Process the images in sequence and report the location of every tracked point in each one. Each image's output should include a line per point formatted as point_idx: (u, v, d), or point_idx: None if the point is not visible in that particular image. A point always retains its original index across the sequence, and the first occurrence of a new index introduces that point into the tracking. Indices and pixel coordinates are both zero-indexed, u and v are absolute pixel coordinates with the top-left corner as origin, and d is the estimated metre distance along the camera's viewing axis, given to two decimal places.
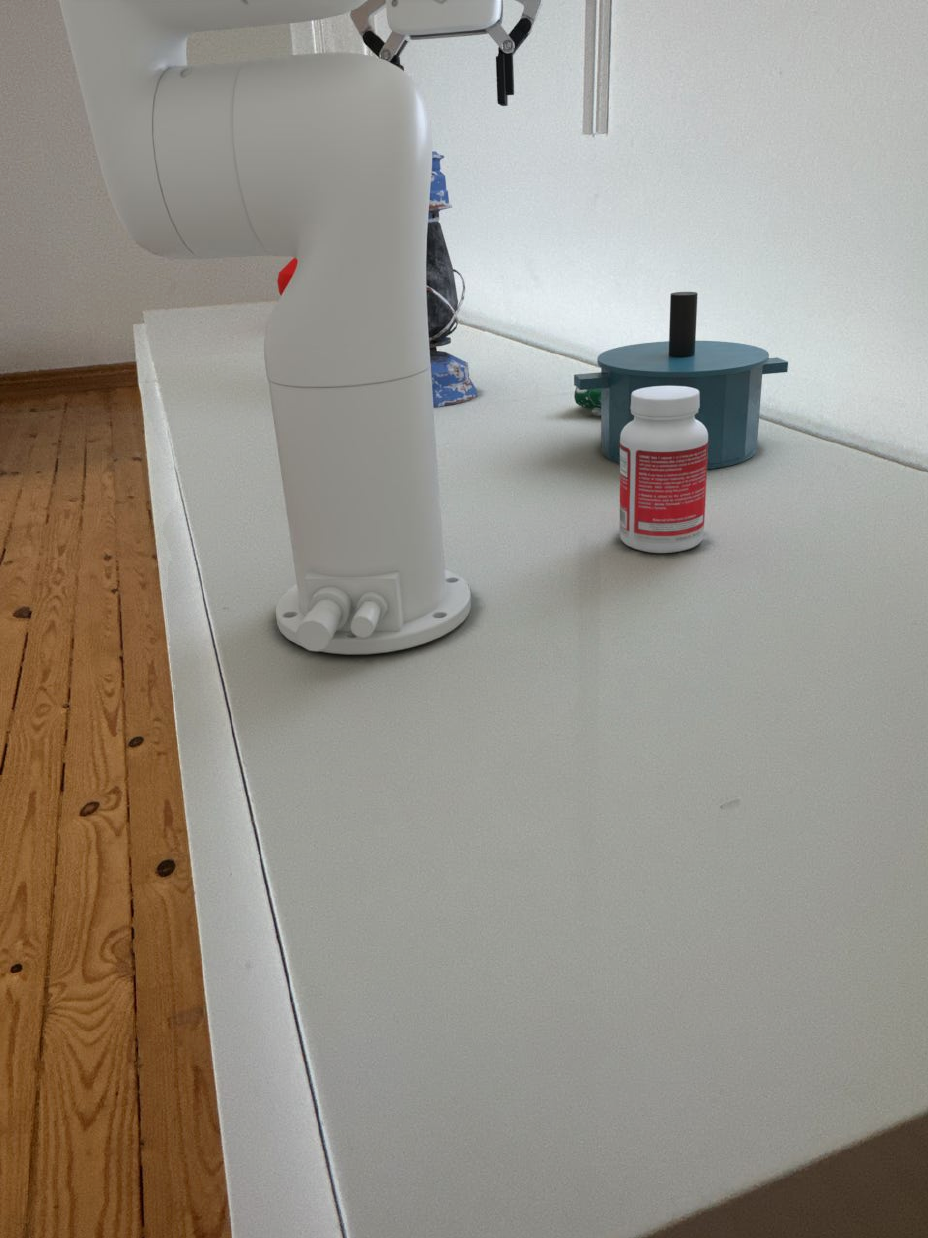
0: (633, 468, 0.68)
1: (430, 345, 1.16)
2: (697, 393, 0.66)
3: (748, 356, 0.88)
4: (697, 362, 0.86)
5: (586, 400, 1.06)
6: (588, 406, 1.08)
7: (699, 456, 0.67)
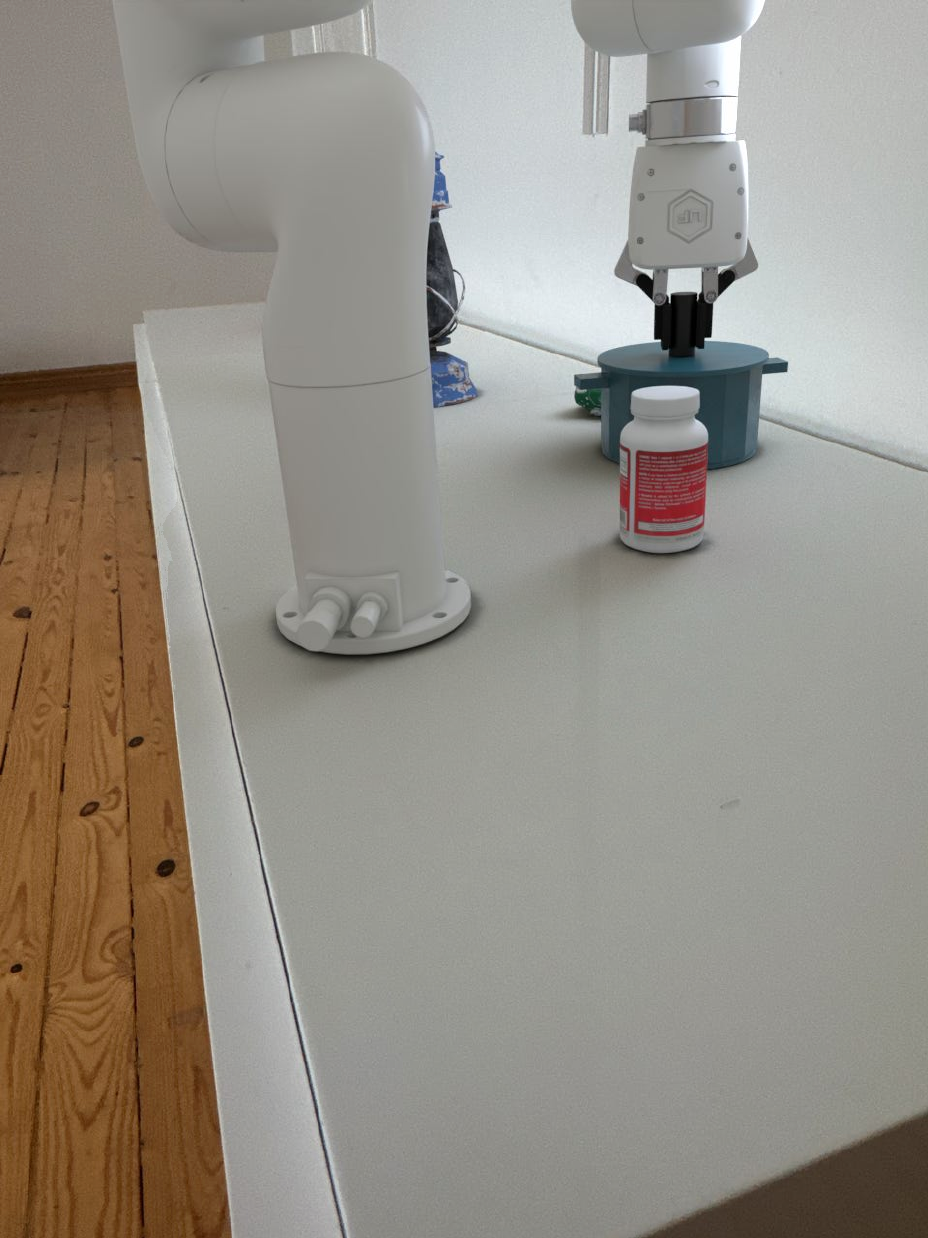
0: (633, 468, 0.68)
1: (430, 345, 1.16)
2: (697, 393, 0.66)
3: (748, 356, 0.88)
4: (697, 362, 0.86)
5: (586, 400, 1.06)
6: (588, 406, 1.08)
7: (699, 456, 0.67)
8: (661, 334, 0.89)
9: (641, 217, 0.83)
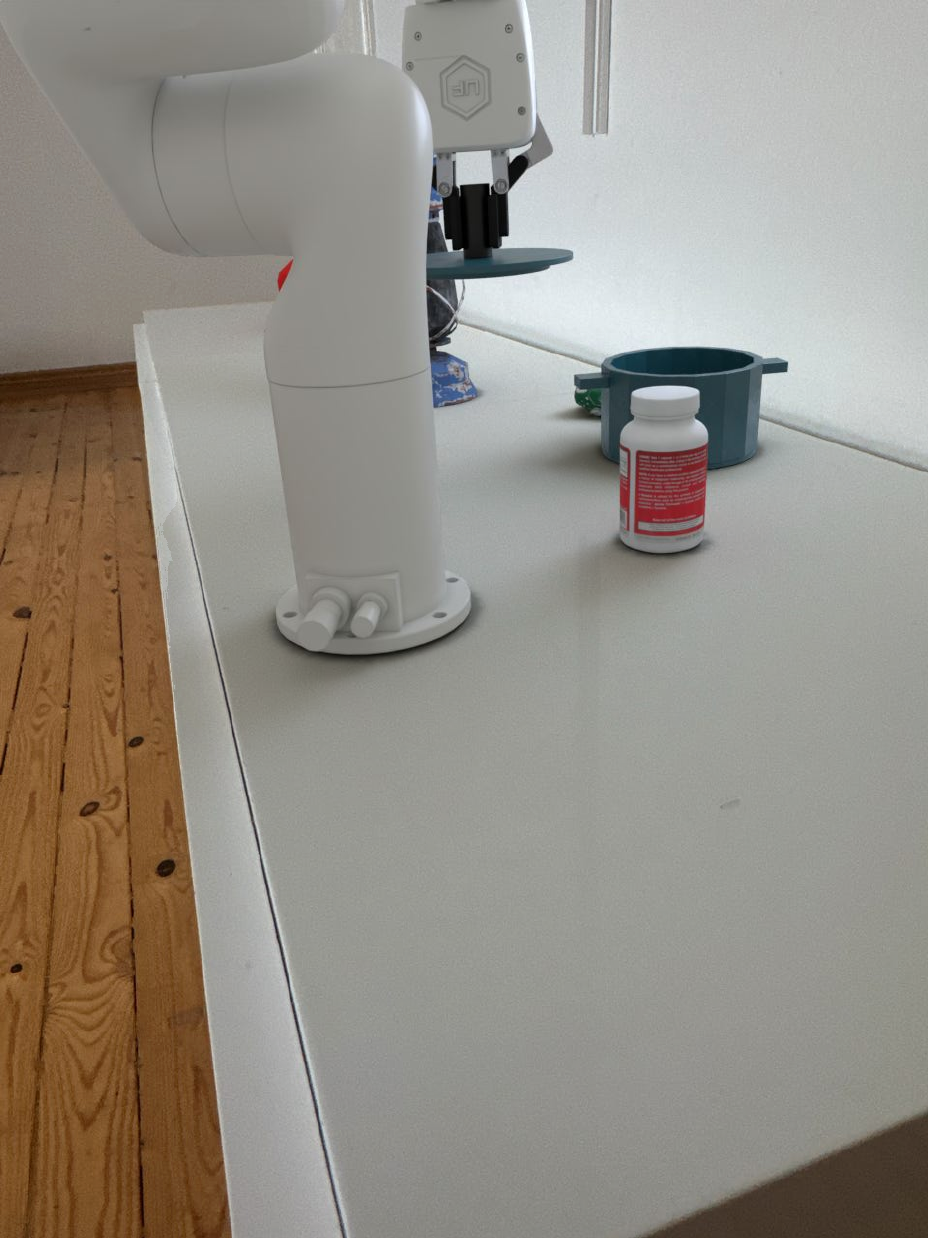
0: (633, 468, 0.68)
1: (430, 345, 1.16)
2: (697, 393, 0.66)
3: (547, 255, 0.77)
4: (486, 260, 0.76)
5: (586, 400, 1.06)
6: (588, 406, 1.08)
7: (699, 456, 0.67)
8: None
9: None
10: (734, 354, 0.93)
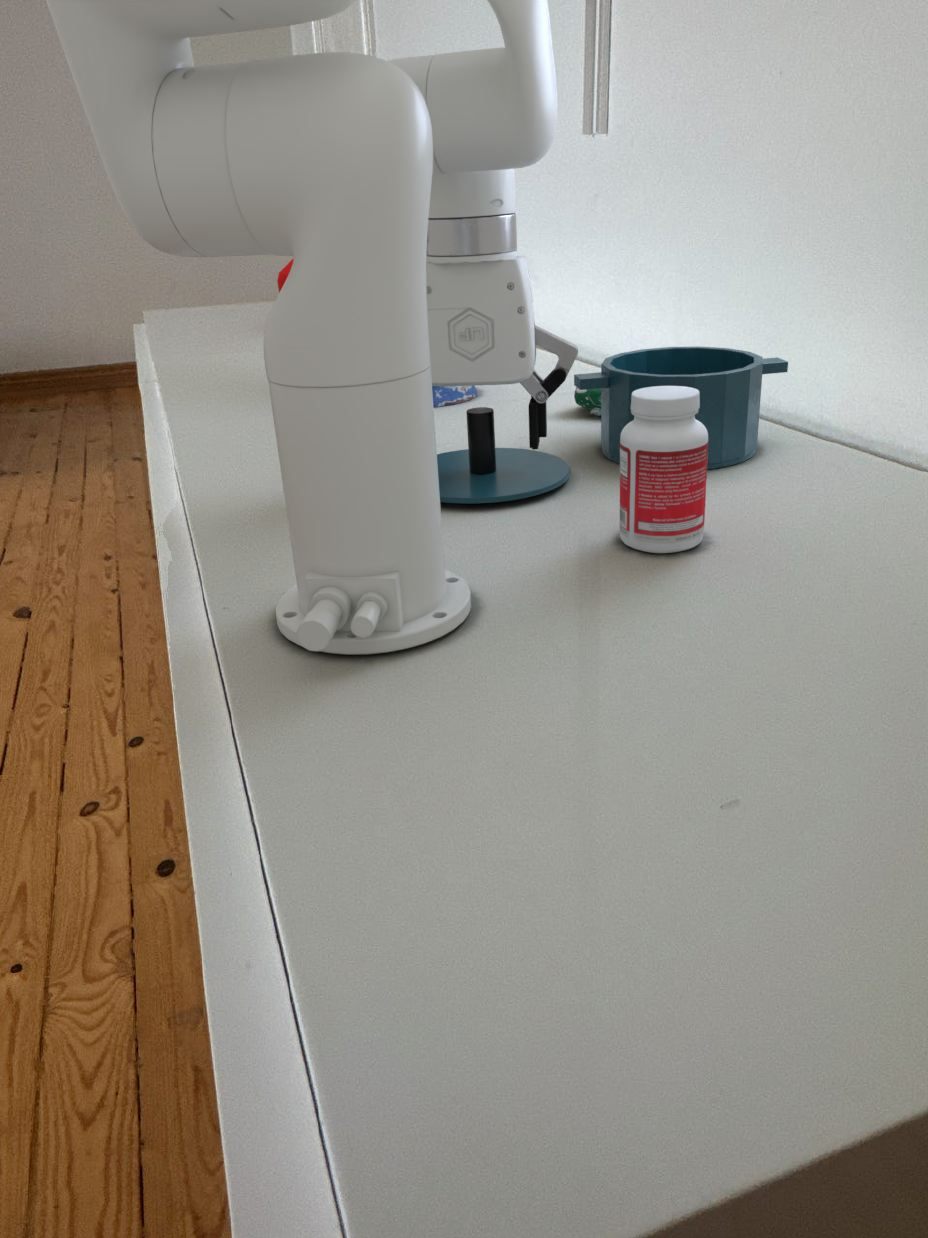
0: (633, 468, 0.68)
1: None
2: (697, 393, 0.66)
3: (546, 475, 0.85)
4: (490, 483, 0.84)
5: (586, 400, 1.06)
6: (588, 406, 1.08)
7: (699, 456, 0.67)
8: None
9: None
10: (734, 354, 0.93)
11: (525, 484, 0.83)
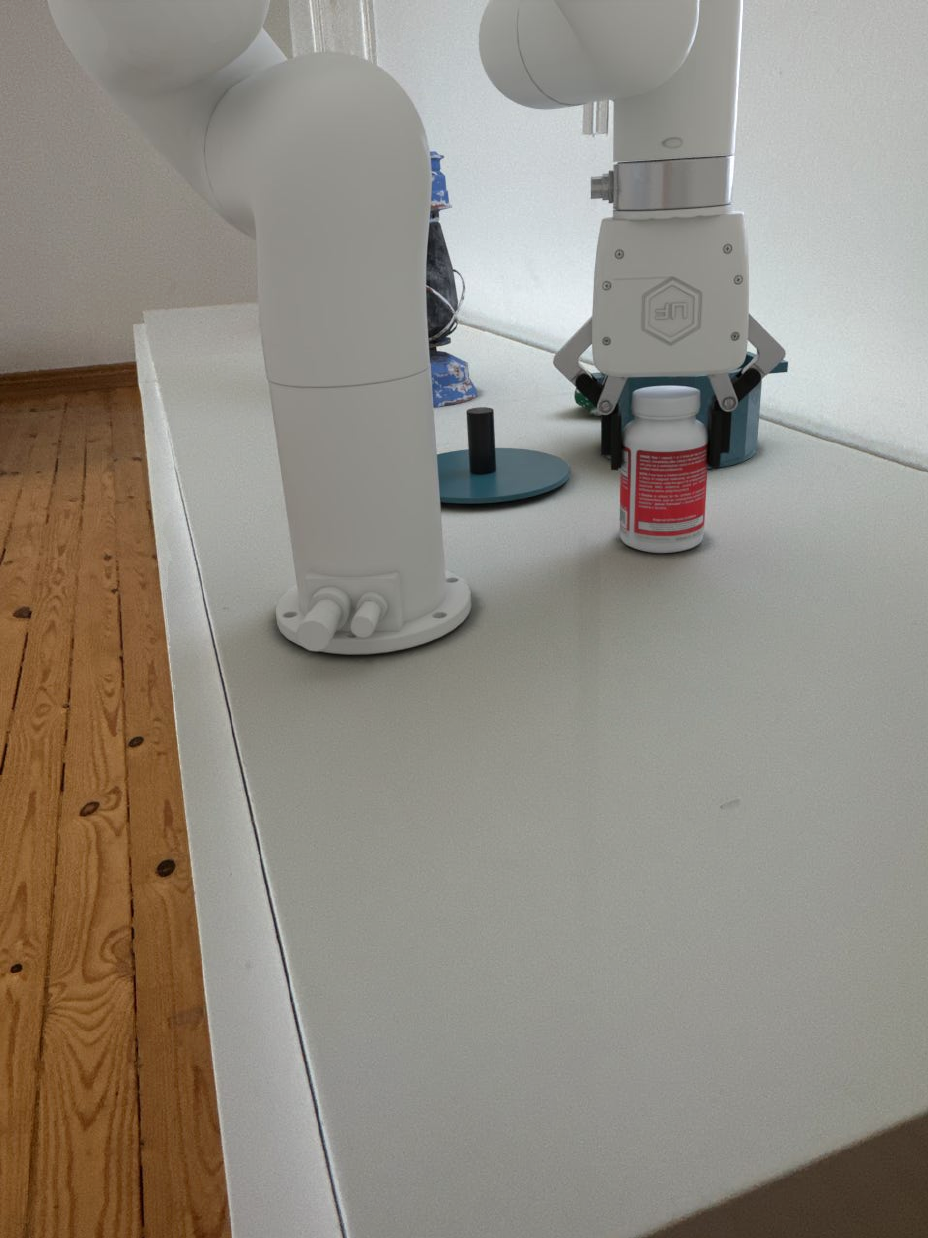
0: (633, 468, 0.68)
1: (430, 345, 1.16)
2: (698, 393, 0.66)
3: (546, 475, 0.85)
4: (490, 483, 0.84)
5: (586, 400, 1.06)
6: (588, 406, 1.08)
7: (699, 456, 0.67)
8: (609, 450, 0.69)
9: (607, 311, 0.63)
10: None
11: (525, 484, 0.83)
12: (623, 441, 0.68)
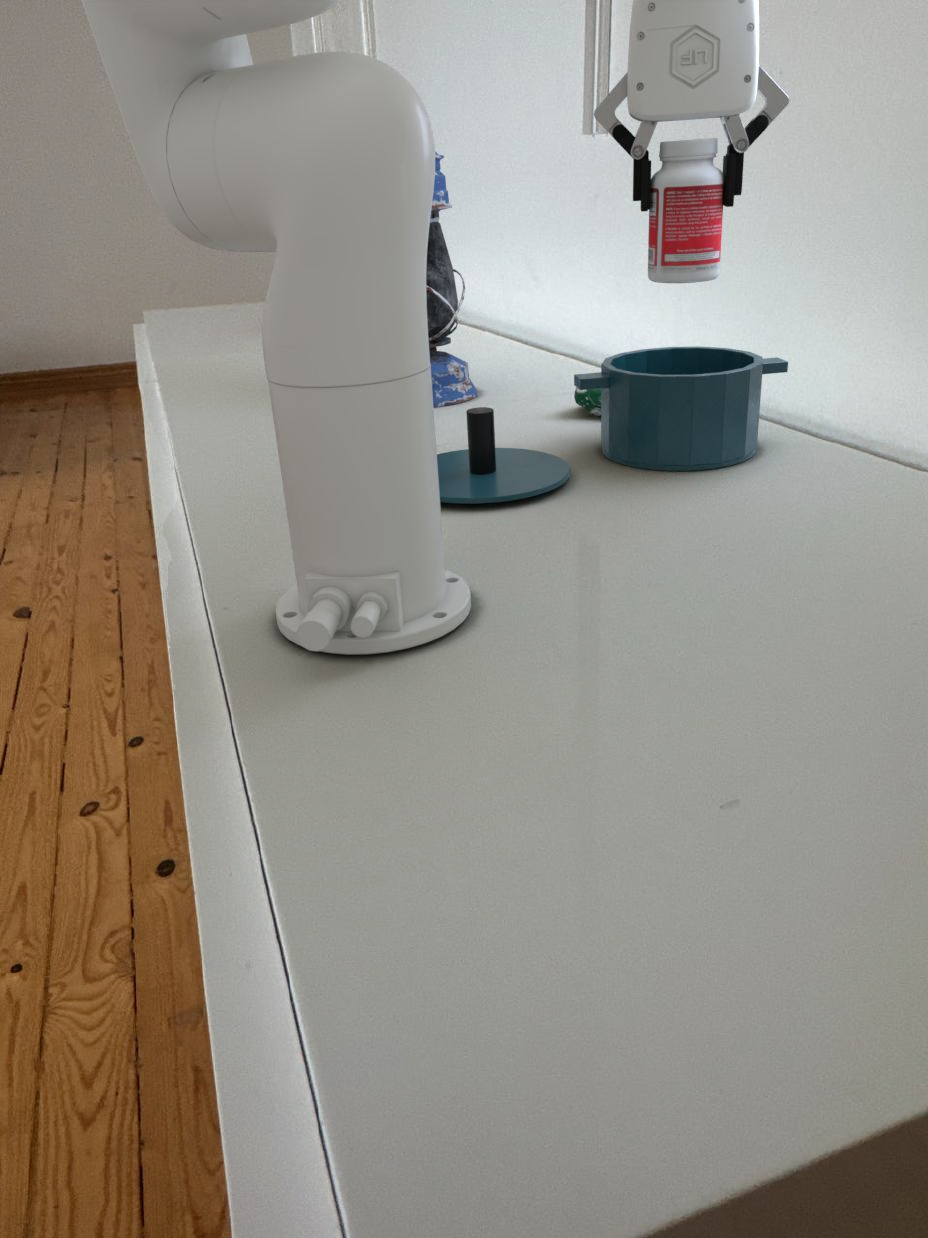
0: (661, 206, 0.80)
1: (430, 345, 1.16)
2: (716, 138, 0.79)
3: (546, 475, 0.85)
4: (490, 483, 0.84)
5: (586, 400, 1.06)
6: (588, 406, 1.08)
7: (716, 193, 0.80)
8: (640, 193, 0.81)
9: (641, 59, 0.76)
10: (734, 354, 0.93)
11: (525, 484, 0.83)
12: (652, 184, 0.81)
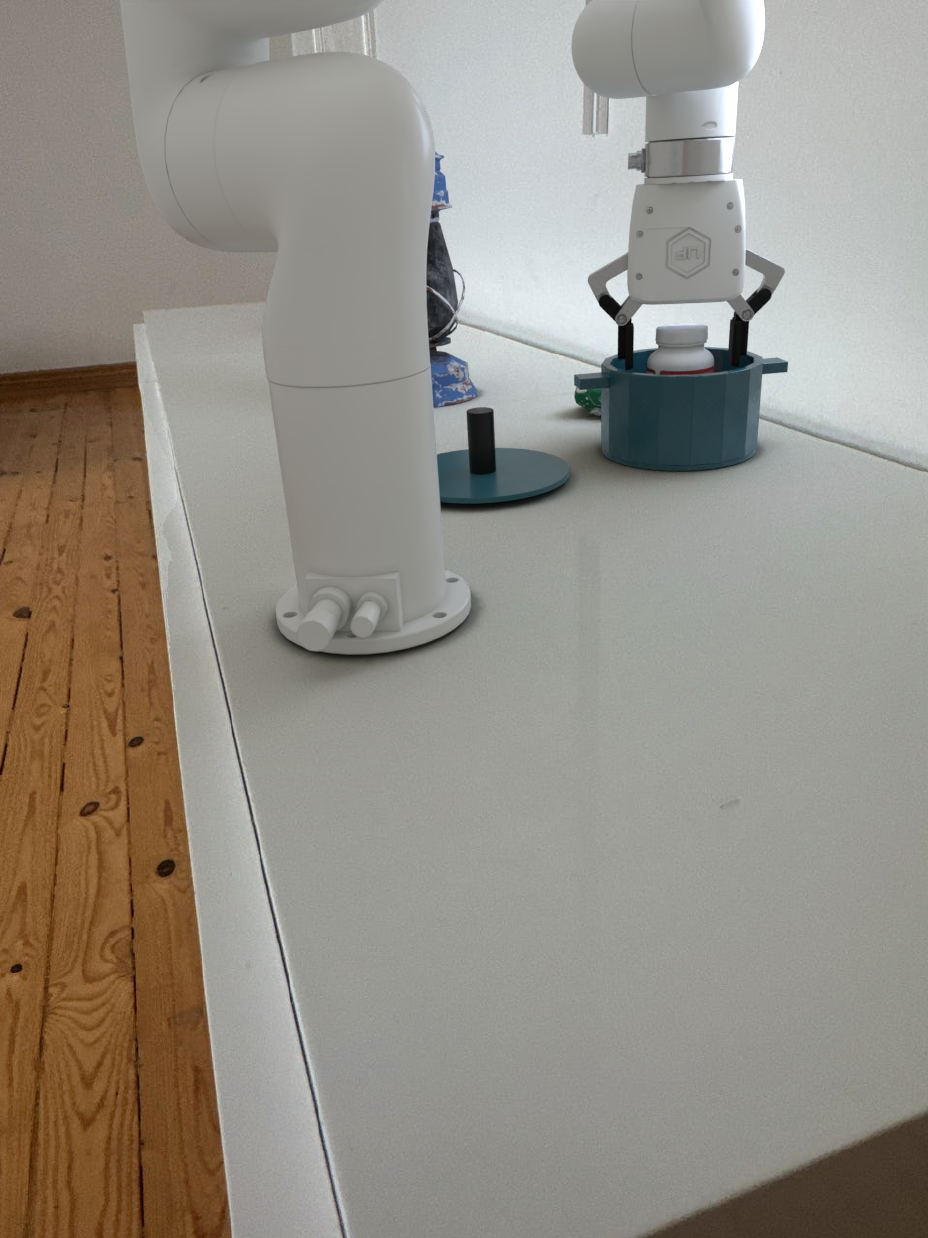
0: None
1: (430, 345, 1.16)
2: (706, 327, 0.88)
3: (546, 475, 0.85)
4: (490, 483, 0.84)
5: (586, 400, 1.06)
6: (588, 406, 1.08)
7: None
8: (624, 354, 0.90)
9: (640, 253, 0.84)
10: None
11: (525, 484, 0.83)
12: (649, 365, 0.90)
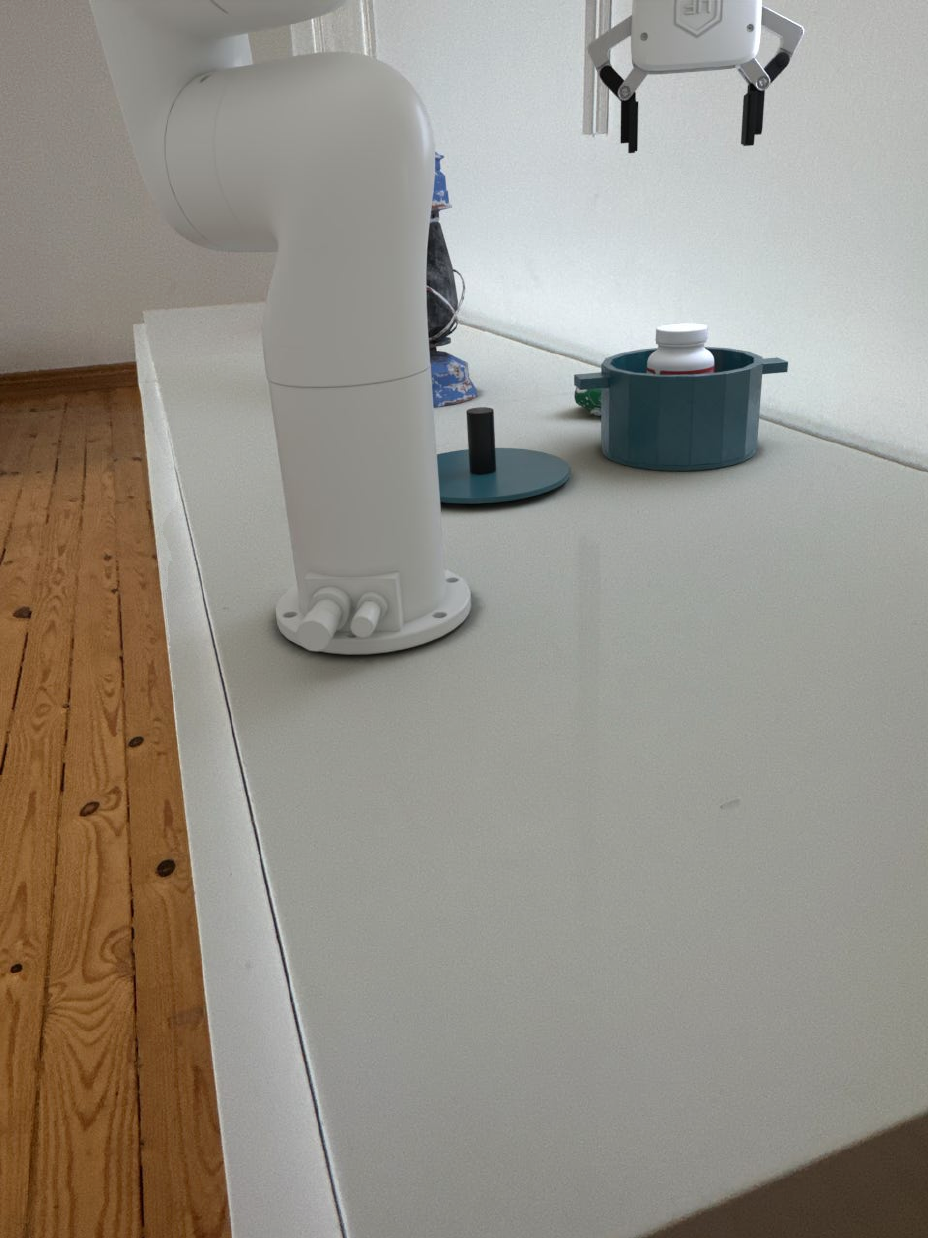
0: None
1: (430, 345, 1.16)
2: (706, 327, 0.88)
3: (546, 475, 0.85)
4: (490, 483, 0.84)
5: (586, 400, 1.06)
6: (588, 406, 1.08)
7: None
8: (628, 135, 0.82)
9: (645, 9, 0.77)
10: (734, 354, 0.93)
11: (525, 484, 0.83)
12: (649, 365, 0.90)
